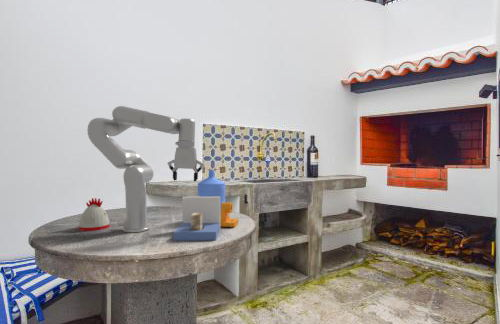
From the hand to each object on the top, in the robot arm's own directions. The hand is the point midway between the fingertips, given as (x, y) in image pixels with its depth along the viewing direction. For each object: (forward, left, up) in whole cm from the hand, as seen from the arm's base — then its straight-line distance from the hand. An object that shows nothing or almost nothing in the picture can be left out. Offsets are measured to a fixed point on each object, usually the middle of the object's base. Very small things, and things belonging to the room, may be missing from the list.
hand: (185, 180), depth 147 cm
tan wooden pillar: (+7, -10, -24) cm, 27 cm away
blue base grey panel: (+7, -7, -24) cm, 26 cm away
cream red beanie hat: (-48, +8, -24) cm, 54 cm away
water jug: (+9, +26, -24) cm, 37 cm away
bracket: (+20, +11, -24) cm, 34 cm away
